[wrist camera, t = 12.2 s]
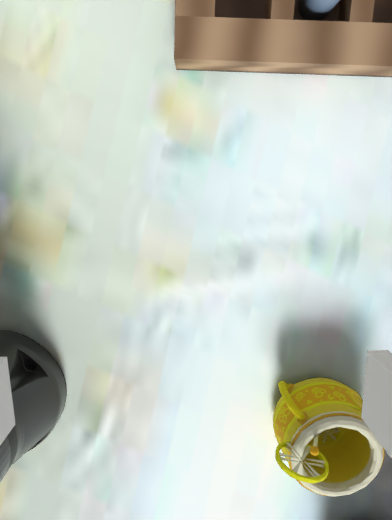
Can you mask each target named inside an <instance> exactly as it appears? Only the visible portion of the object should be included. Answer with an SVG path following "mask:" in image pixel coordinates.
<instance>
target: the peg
mask: <svg viewBox="0 0 392 520" xmlns="http://www.w3.org/2000/svg"><path fill="white" fill-rule="evenodd" d="M338 2H339V0H299V2H298V9H299V12H300V14H301V16H302V17H303V19H305V20H314V21H322V20H324V19H325V18H326V17H327V16H328V14H329V13H330V12H331V11H332V9H333V8H334V7H335V6H336V4H337V3H338Z"/></svg>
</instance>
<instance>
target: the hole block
mask: <svg viewBox="0 0 392 520" xmlns="http://www.w3.org/2000/svg"><path fill="white" fill-rule="evenodd" d="M298 2H299V0H175V48H174V60H175V65H176V70H199V71H228V72H257V73H287V74H316V75H345V76H374V77H392V0H339V2H338V3H337V4H336V6H335V7H334V8H333V9H332V11H331V12H330V13H329V14H328V16H327V17H326V18H325V19H324V20H322V21H314V20H305V19H303V17H302V16H301V14H300V12H299V9H298Z"/></svg>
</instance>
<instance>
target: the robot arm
mask: <svg viewBox="0 0 392 520" xmlns="http://www.w3.org/2000/svg"><path fill="white" fill-rule="evenodd" d="M65 402H66V385H65V380H64V377H63V374H62V371H61V369H60V367H59V366H58V364H57V362H56V361H55V359H54V358H53V357H52V356H51V354H50V353H49V352H48V351H47V350H46V349H44V348H43V347H42V346H41V345H40V344H38V343H37V342H35V341H33V340H32V339H30V338H28V337H26V336H23V335H21V334H18V333H14V332H10V331H4V330H0V482H1V480H2V479H3V477H4V476H5V474H6V473H7V471H8V470H9V468H10V466H11V465H12V464H13V463H14V462H16V461H17V460H18V459H19V458H20V457H21V456H22V455H23V454H25V453H26V452H27V451H29V450H31V449H33V448H34V447H36V446H37V445H38V444H40V443H41V442H42V441H43V440H44V439H45V438H46V437H47V436H48V435H49V434H50V433H51V431H52V430H53V428H54V427H55V425H56V423H57V422H58V420H59V418H60V416H61V414H62V412H63V410H64V406H65ZM361 418H362V419H363V421H364V422H365V423H366V425H367V426H368V428H369V429H370V430H371V432H372V433H373V434H374V436H375V437H376V439H377V440H378V441H379V443H380V444H381V445H382V447H383V448H384V449H385V451H386V452H387V454H388V455H389V456H390V458H391V459H392V353H391V352H390V351H388V350H381V351H367V361H366V372H365V382H364V393H363V403H362V414H361Z"/></svg>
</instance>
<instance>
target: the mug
mask: <svg viewBox="0 0 392 520" xmlns="http://www.w3.org/2000/svg"><path fill="white" fill-rule="evenodd" d="M278 387H279V390H280V393H281V395H282V396H281V398H280V399H279V401H278V402H277V405H276V408H275V411H274V416H273V428H274V432H275V436H276V439H277V441H278V444H279V445H278V446H277V449H276V457H275V458H276V461H277V463H278V464H279V466H280V467H281V469H282V470H283V471H285V472H286V473H287V474H288V475H289V476H291V477H292V478H295V479H296V480H297V481H298V482H299V484H301V485H302V486H303V487H305V488H306V489H308V490H310V491H312V492H314V493H316V494H320V495H324V496H332V497H335V496H342V495H350V494H352V493H354V492H356V491H358V490H360V489H362V488H364V487H366V486H367V485H368V484H369V483H370V482H371V481H372V480H373V479H374V478H375V477H376V476H377V474H378V472H379V470H380V468H381V466H382V464H383V461H384V456H385V454H384V448H383V447H382V445H381V444H380V443H379V441H378V440H377V439H376V437H375V436H374V434H373V433H372V432H371V430H370V429H369V428H368V426H367V425H366V423H365V422H364V421H363V419H362V418H361V414H362V403H363V399H362V398H361V396H360V395H359V394H358V393H357V392H356V391H355V390H353V389H351V388H349V387H348V386H346V385H344V384H342V383H340V382H338V381H335V380H332V379H329V378H319V377H318V378H312V379H307V380H303V381H301V382H298V383H295V384H291V383H290V384H287V383H286V382H284V381H280V382H279V383H278ZM280 449H281V450H282V452H283V454H282V453H280V452H279V450H280ZM280 456H285V458H283V457H280ZM282 460H286V461H288V463H289V466H290V469H289V468H288V467H287V466H286V465H285V464H284V463H283V462H282Z"/></svg>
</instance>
